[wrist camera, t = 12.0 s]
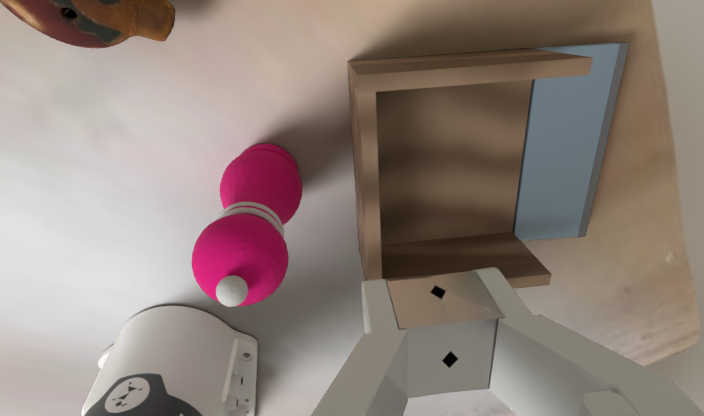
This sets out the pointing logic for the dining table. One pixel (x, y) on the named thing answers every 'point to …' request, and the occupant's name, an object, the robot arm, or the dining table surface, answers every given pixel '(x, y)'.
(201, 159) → the dining table surface
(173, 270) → the dining table surface
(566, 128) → the panel
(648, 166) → the dining table surface
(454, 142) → the box
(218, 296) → the pepper mill
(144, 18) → the decorative turtle
